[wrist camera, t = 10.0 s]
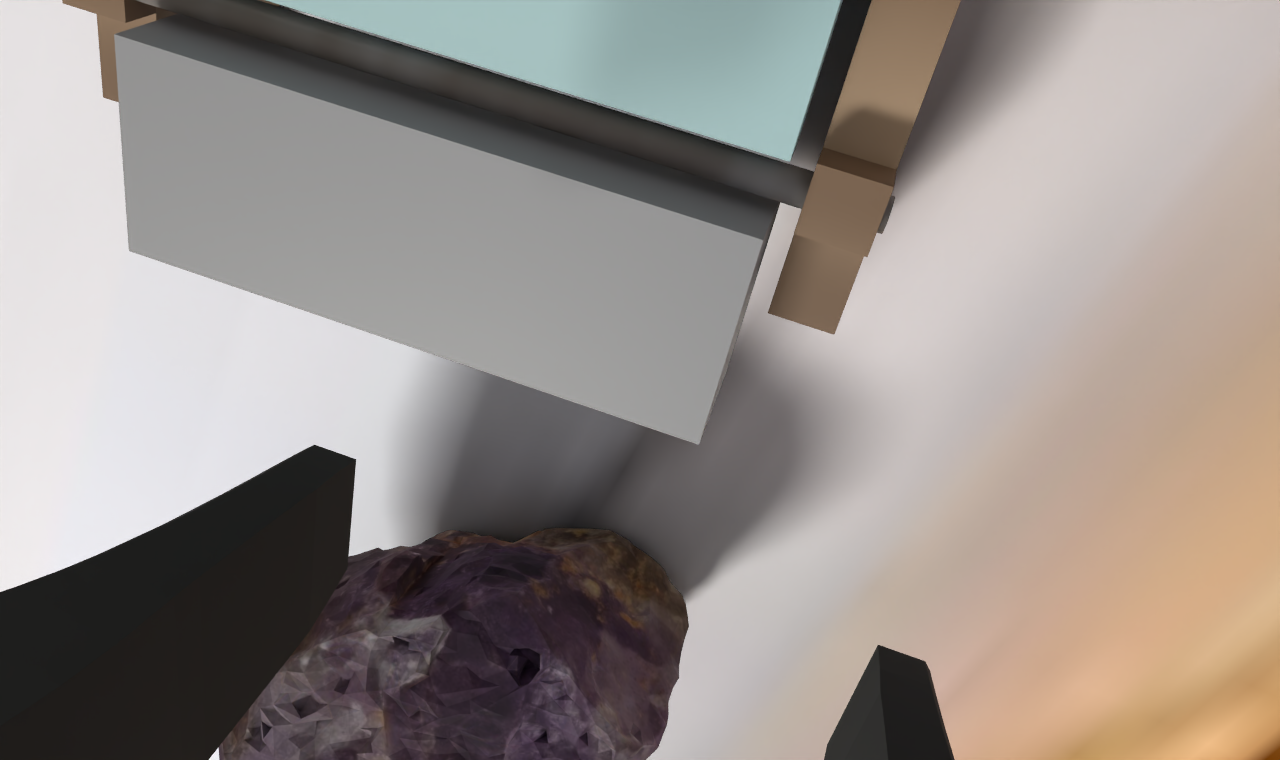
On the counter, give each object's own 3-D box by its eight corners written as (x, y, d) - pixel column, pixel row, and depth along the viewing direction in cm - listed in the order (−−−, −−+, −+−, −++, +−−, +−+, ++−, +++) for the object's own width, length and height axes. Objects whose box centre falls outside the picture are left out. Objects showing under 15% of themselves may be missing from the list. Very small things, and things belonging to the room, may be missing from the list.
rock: (750, 593, 28) (461, 363, 27) (732, 851, 21) (325, 550, 19) (502, 804, 33) (242, 620, 31) (412, 1078, 25) (62, 854, 24)
